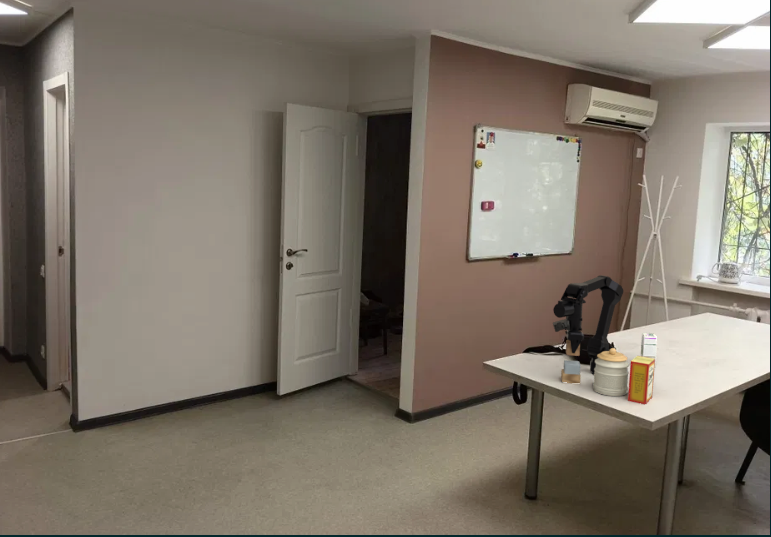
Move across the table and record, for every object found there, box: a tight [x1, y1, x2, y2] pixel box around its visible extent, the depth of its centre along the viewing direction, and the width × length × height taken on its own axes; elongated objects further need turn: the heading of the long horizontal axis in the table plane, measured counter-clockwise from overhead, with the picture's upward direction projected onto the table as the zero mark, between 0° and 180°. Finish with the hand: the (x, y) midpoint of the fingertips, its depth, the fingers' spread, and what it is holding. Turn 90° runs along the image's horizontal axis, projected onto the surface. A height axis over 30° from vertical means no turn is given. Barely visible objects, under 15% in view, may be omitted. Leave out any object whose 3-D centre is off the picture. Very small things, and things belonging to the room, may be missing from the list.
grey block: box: [563, 359, 581, 375], centre depth 264 cm, size 6×6×4 cm
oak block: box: [560, 368, 582, 384], centre depth 264 cm, size 7×7×4 cm
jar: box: [592, 347, 630, 397], centre depth 251 cm, size 13×13×18 cm
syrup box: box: [640, 332, 658, 368], centre depth 285 cm, size 6×6×14 cm
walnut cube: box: [565, 339, 581, 357], centre depth 263 cm, size 5×5×5 cm
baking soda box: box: [627, 355, 656, 405], centre depth 243 cm, size 10×6×16 cm
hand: (572, 351), depth 263 cm, fingers closed on walnut cube, 5 cm apart
